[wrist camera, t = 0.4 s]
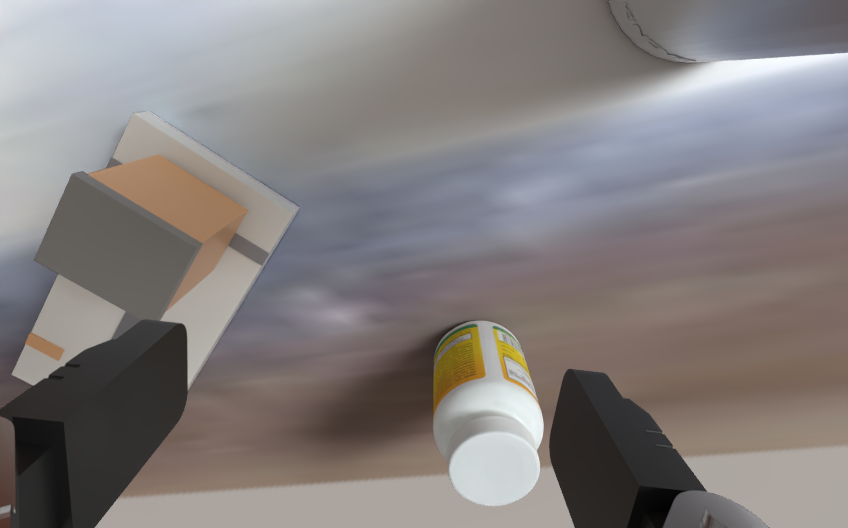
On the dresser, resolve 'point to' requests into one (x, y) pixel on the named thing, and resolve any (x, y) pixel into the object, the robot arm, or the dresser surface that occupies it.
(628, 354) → the dresser surface
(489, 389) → the supplement bottle
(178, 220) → the fader knob
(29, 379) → the fader plate
